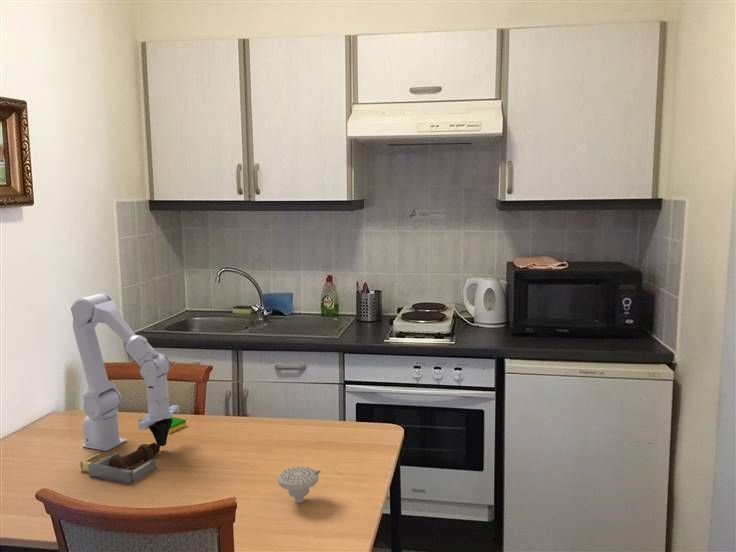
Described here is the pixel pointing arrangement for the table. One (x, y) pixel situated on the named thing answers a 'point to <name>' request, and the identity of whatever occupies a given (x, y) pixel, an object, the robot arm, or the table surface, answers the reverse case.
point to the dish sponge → (175, 424)
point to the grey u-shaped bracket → (120, 471)
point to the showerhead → (298, 481)
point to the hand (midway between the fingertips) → (161, 445)
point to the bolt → (135, 456)
